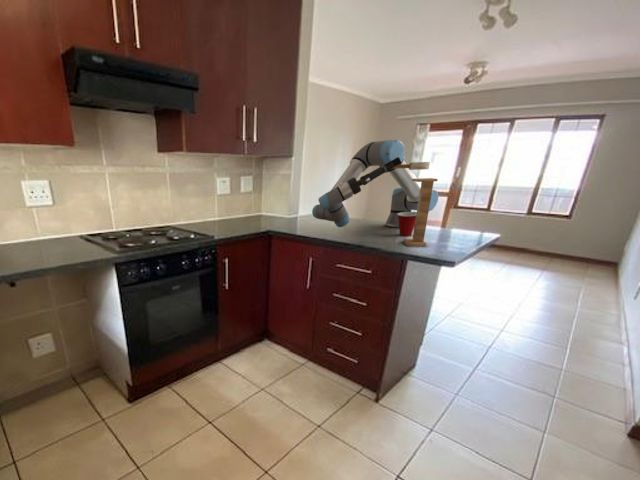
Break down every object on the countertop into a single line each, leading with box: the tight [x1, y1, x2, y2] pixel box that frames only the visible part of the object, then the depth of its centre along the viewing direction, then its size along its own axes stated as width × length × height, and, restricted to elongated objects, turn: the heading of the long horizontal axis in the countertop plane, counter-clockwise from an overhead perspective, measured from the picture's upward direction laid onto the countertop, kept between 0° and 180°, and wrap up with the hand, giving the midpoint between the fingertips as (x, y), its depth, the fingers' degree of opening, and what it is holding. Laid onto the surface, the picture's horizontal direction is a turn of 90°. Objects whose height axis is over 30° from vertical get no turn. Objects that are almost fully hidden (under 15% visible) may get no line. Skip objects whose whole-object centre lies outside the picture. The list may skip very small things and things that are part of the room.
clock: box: [381, 161, 431, 171], centre depth 151 cm, size 8×20×3 cm, turn 78°
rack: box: [402, 177, 439, 247], centre depth 157 cm, size 10×8×30 cm
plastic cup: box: [397, 211, 417, 237], centre depth 180 cm, size 11×11×12 cm
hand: (399, 160), depth 151 cm, fingers closed on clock, 2 cm apart
